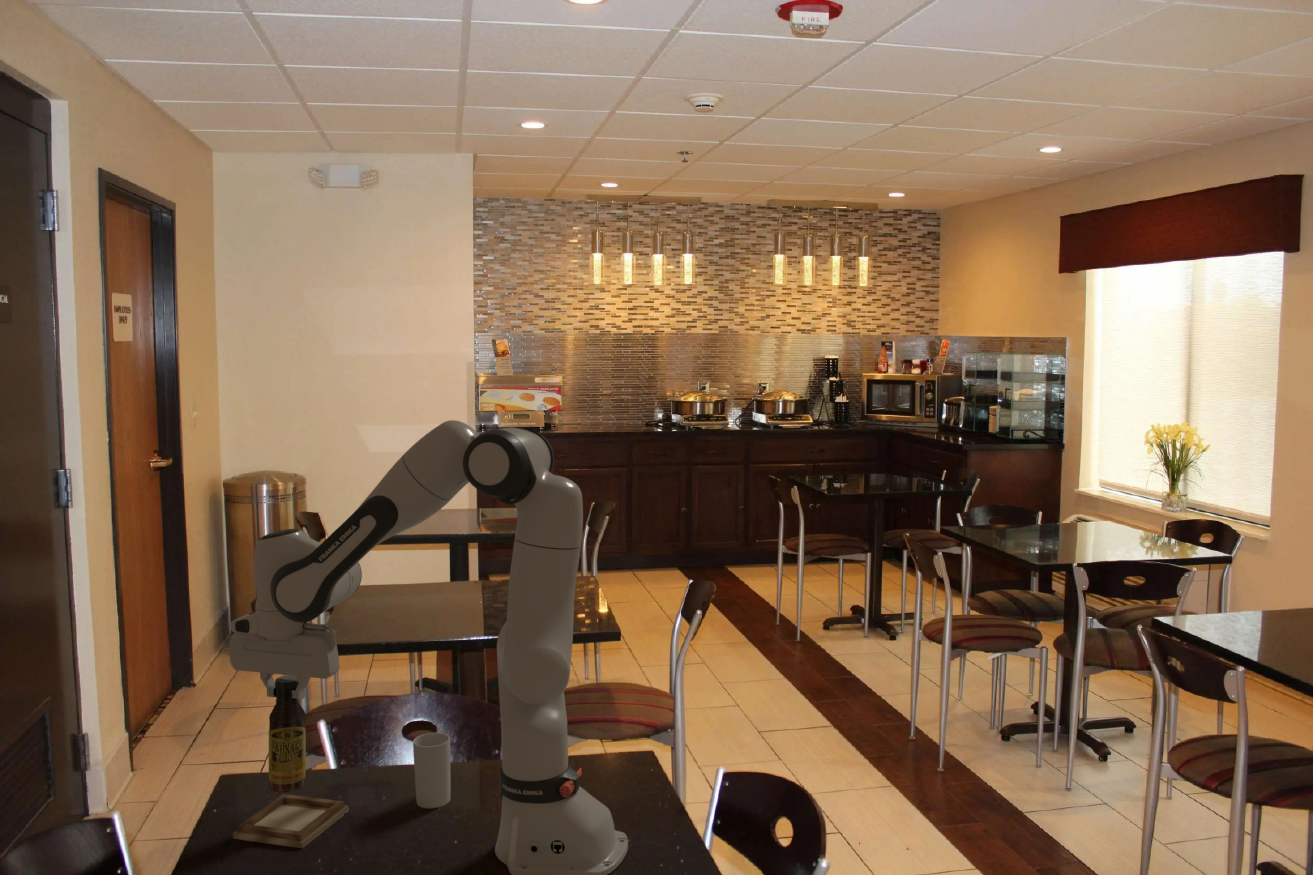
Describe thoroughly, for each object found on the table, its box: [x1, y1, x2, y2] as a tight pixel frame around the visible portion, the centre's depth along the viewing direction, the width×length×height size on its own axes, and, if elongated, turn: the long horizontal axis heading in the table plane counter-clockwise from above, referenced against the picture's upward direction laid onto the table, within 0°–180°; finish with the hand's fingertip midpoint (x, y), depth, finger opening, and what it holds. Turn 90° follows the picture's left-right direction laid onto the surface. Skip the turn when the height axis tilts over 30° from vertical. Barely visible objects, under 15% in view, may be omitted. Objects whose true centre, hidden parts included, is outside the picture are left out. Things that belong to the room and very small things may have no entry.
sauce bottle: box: [268, 675, 307, 793], centre depth 177 cm, size 7×6×20 cm
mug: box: [412, 732, 452, 810], centre depth 188 cm, size 10×7×12 cm, turn 178°
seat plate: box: [232, 793, 350, 849], centre depth 178 cm, size 14×14×2 cm
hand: (286, 697), depth 176 cm, fingers closed on sauce bottle, 4 cm apart
